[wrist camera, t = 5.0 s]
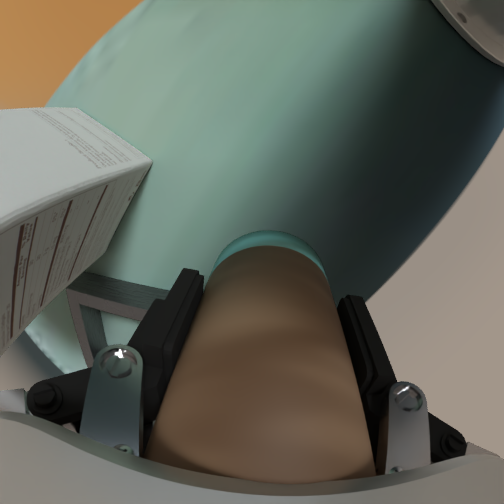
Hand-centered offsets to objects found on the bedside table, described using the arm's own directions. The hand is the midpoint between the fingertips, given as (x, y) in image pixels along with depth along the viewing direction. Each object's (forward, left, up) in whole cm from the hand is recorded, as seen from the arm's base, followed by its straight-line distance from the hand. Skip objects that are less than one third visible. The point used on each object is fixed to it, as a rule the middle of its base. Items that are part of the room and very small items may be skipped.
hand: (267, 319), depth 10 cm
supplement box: (+12, -3, -7) cm, 14 cm away
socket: (+8, +9, -7) cm, 14 cm away
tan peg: (0, 0, -3) cm, 3 cm away
